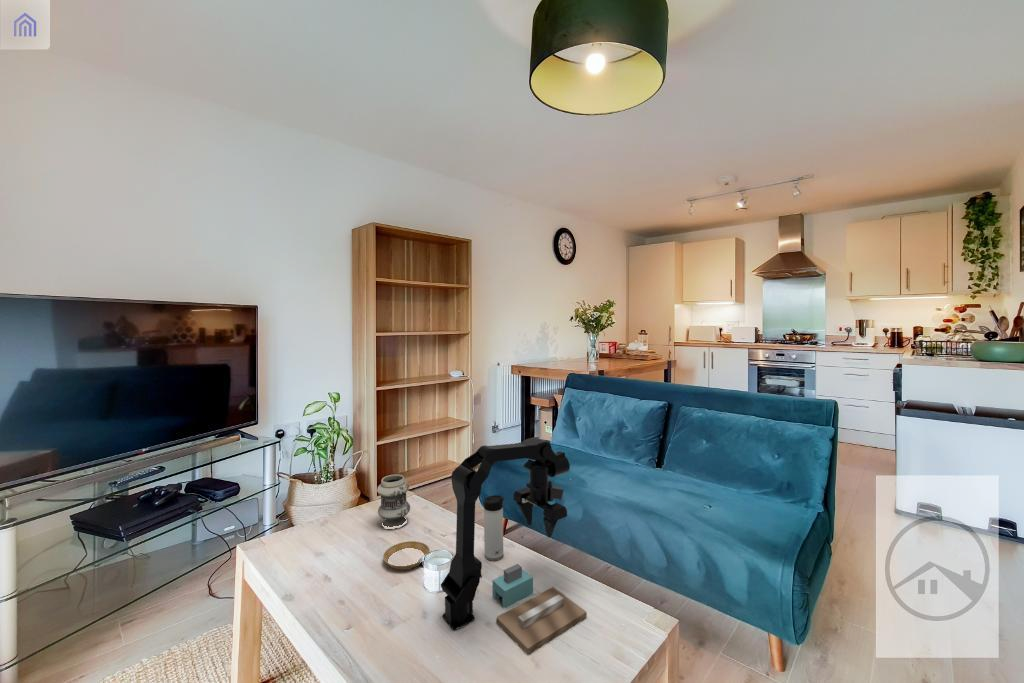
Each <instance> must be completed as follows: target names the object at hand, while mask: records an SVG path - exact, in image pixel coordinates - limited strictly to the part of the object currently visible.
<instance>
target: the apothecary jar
mask: <svg viewBox="0 0 1024 683" xmlns="http://www.w3.org/2000/svg"><path fill="white" fill-rule="evenodd" d="M380 481H381V483H380V484H379V485H378V486H377V490H376V491H377V493H378V495H379V496H380V506H379V507H378V508H377V509H378V510H377V514H378V516H379V517H380V518H381V519H383V521H384V522H383V521H382V522H383V525H384V526H387V527H388V526H389V527H393V526H399V525H402V524H403V523H404V522H405V521H406V519H407V518H406V517H405V516H407V515H408V514H409V512H410V510H411V504H410V503H409V501H408V500H407V492H408V491H409V490H410V485H409V482H408V481H407V480H405V476H404V475H403V474H396V473H395V474H390V475H386V476H384V477H382V478H381V480H380ZM404 517H405V518H406V519H405V518H404ZM385 519H386V520H385Z"/></svg>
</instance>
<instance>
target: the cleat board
mask: <svg viewBox="0 0 1024 683" xmlns="http://www.w3.org/2000/svg"><path fill="white" fill-rule="evenodd" d="M587 614H588V613H587V611H586V610H585V609H584V608H582V607H581V606H579V605H578V604H576V602H574V601H572V600H571V599H570V598H569V597H567V596H566V595H564V593H562V592H561V591H560V590H558V589H557V588H555V587H554V586H552V587H550V588H548V589H547V590H545V591H543V592H541V593H539V594H537V595H535V596H534V597H532V598H529V599H528V600H526V601H524V602H522V603H520V604H518V605H516V606H515V607H512V608H511V609H509V610H507V611H505V612H504V613H502V614H500V615H497V616H496V618H495V619H496V624H497V625H498V626H499V627H500V628H501V629H502V630H503V631H504V632H505V633H506V634H507V635H508V636H509V637H510V638H511V639H512V640H513V641H514V642H515V643H516V644H517V646H519V647H520V649H522V650H523V651H524V653H525V654H526V655H529V654H531V653H532V652H534V651H536V650H537V649H539V648H541V647H542V646H543V645H545V644H547V643H548V642H550V641H551V640H553V639H555V638H556V637H559V635H561V634H563V633H564V632H566V631H567V630H569V629H571V628H572V627H574V626H575V625H577V624H578V623H580V622H581V621H583V620H585V619H587V616H588V615H587Z"/></svg>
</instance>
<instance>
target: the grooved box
mask: <svg viewBox="0 0 1024 683" xmlns="http://www.w3.org/2000/svg"><path fill="white" fill-rule="evenodd" d="M531 595H534V577H533V576H532V575H531V574H530V573H529V572H527V571H526V570H524V569H523V567H522V566H521V564H518V563H515V564H513V565H512V566H510V567H507V568H505V569H503V574H502V575H500V576H499V577H497V578H494V579H492V598H493V599H494V600H497V599H499V598H501V601H502V602H501V603H502V605H501V606H502V607H503V608H504V609H506V608H509V607H511V606H513V605H514V604H516V603H518V602H521V601H522V600H524V599H526V598H528V597H530V596H531Z"/></svg>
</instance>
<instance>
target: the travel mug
mask: <svg viewBox="0 0 1024 683" xmlns="http://www.w3.org/2000/svg"><path fill="white" fill-rule="evenodd" d="M504 500H505V498H504V496H502V495H499V494H498V495H497V494H495V495H494V494H493V495H490V496H487V497H486V498H485V499H484V500H483V523H484V524H483V525H484V526H483V530H484V531H483V532H484V534H483V535H484V536H483V539H484V540H483V541H484V543H483V544H484V558H485V559H486V560H488V561H490V562H496V561H499V560H502V559H503V557H504V505H503V502H504Z"/></svg>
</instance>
